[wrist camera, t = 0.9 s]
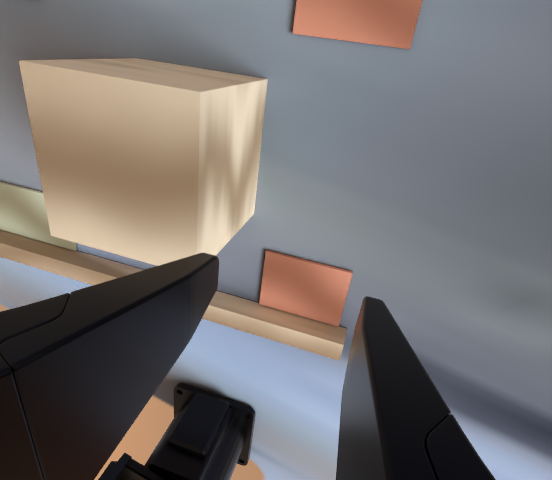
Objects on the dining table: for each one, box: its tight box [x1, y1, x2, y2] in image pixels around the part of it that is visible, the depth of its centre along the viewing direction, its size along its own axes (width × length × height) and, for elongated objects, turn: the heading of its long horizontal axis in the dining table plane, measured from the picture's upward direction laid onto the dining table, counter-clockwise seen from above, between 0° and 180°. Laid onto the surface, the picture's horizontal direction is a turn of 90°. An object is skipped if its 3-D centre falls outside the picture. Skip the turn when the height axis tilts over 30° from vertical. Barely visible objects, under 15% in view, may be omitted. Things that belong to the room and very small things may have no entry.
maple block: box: [19, 58, 268, 266], centre depth 17 cm, size 7×7×7 cm
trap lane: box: [0, 0, 422, 360], centre depth 21 cm, size 21×32×2 cm, turn 84°
